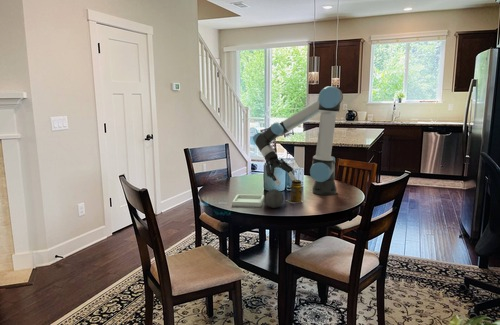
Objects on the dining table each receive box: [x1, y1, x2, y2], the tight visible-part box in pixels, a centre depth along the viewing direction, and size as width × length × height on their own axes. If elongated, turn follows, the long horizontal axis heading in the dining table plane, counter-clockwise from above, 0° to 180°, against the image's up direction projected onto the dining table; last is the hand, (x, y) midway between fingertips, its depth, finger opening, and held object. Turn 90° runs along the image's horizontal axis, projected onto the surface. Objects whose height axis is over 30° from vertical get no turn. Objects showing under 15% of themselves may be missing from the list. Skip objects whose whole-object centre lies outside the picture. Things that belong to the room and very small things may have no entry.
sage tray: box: [231, 193, 265, 208], centre depth 200 cm, size 16×16×2 cm
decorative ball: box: [264, 188, 285, 209], centre depth 190 cm, size 10×10×10 cm
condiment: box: [284, 179, 305, 205], centre depth 201 cm, size 7×8×12 cm
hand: (287, 183), depth 204 cm, fingers open, 13 cm apart
